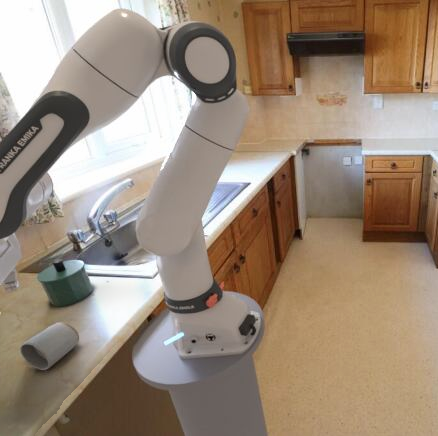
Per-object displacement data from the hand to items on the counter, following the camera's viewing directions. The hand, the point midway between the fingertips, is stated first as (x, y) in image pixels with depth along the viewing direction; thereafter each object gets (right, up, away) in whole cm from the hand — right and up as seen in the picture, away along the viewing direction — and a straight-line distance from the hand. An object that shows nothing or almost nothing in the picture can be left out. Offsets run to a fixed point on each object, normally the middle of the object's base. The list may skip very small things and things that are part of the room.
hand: (4, 303), depth 62 cm
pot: (-15, -7, +35) cm, 39 cm away
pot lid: (-15, +1, +32) cm, 35 cm away
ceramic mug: (-3, -16, +14) cm, 22 cm away
